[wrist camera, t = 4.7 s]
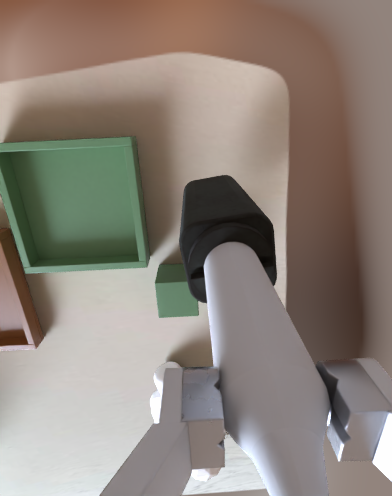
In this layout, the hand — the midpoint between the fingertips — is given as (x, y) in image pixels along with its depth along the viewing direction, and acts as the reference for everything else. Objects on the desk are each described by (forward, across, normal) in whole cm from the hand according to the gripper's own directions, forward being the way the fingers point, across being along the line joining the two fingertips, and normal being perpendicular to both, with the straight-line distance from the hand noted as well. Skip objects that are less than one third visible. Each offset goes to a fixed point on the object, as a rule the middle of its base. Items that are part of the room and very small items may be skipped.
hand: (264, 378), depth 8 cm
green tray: (+25, +14, 0) cm, 28 cm away
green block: (+25, +4, +10) cm, 27 cm away
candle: (+21, 0, 0) cm, 21 cm away
